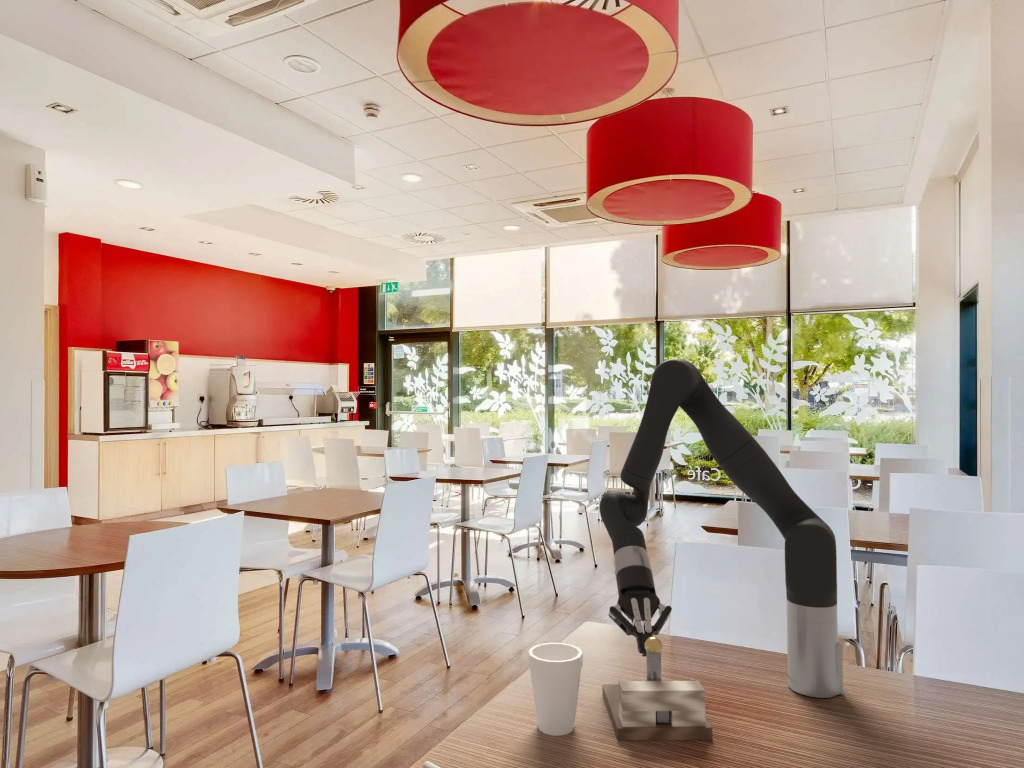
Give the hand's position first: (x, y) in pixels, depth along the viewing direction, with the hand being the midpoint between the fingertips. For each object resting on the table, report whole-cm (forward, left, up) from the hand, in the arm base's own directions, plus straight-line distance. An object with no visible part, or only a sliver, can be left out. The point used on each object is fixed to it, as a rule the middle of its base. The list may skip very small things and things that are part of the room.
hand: (647, 654), depth 129 cm
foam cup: (+18, +9, -9) cm, 22 cm away
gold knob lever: (0, +9, -7) cm, 11 cm away
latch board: (0, +5, -9) cm, 10 cm away
